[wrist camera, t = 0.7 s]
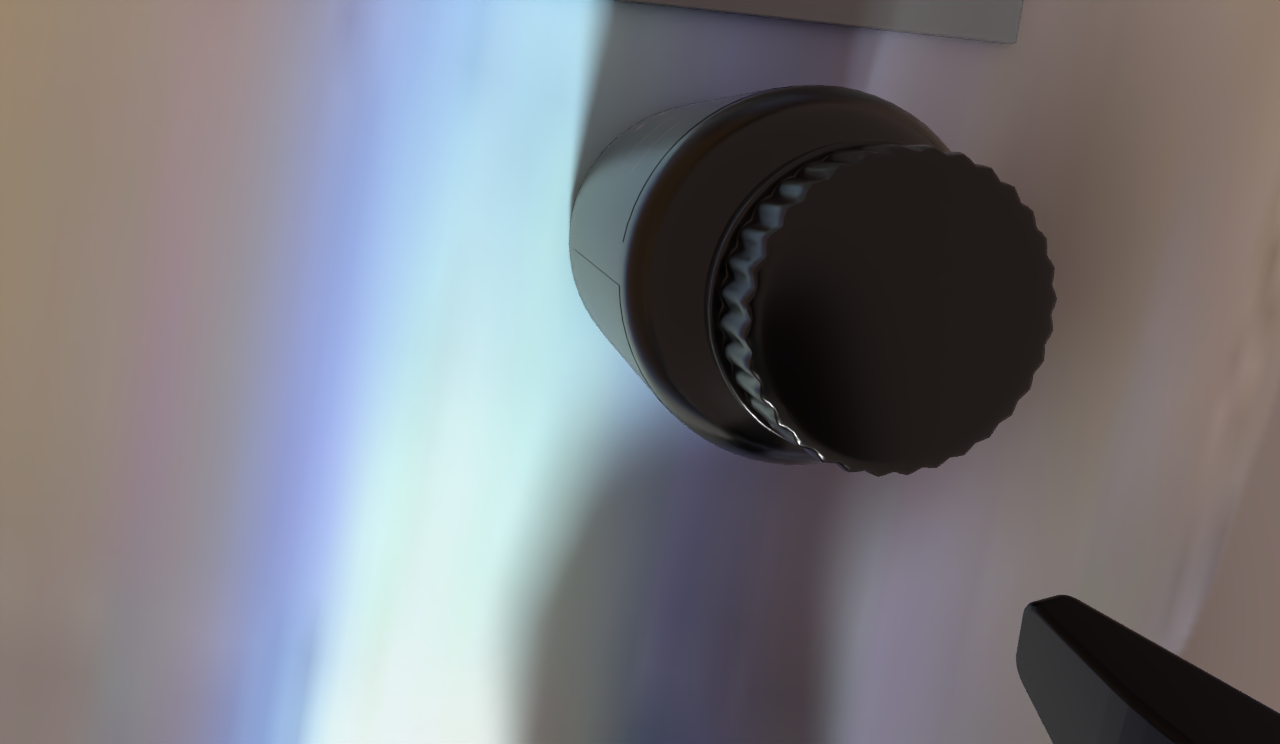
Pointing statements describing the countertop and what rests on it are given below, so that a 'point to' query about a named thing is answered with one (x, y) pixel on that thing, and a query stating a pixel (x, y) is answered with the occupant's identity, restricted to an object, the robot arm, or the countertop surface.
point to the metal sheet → (883, 14)
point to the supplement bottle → (814, 278)
